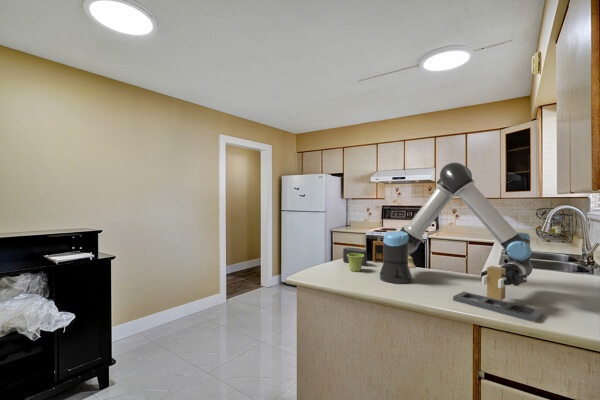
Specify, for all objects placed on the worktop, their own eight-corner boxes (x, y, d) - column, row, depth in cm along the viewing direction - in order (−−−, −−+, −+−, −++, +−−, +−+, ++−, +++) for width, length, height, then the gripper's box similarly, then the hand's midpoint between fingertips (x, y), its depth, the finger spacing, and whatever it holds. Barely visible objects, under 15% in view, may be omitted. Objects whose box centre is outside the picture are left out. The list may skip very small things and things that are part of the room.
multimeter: (389, 259, 191) (389, 229, 191) (390, 263, 181) (391, 231, 181) (366, 258, 194) (366, 228, 194) (366, 261, 184) (367, 230, 184)
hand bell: (409, 264, 178) (409, 238, 178) (418, 267, 171) (419, 240, 171) (398, 265, 176) (398, 238, 176) (407, 268, 168) (407, 240, 168)
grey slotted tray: (453, 300, 115) (453, 296, 115) (463, 295, 121) (463, 291, 121) (535, 322, 94) (535, 317, 94) (543, 315, 101) (543, 310, 101)
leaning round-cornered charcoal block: (369, 265, 174) (369, 249, 174) (365, 266, 171) (365, 250, 171) (346, 261, 185) (346, 246, 185) (342, 262, 182) (342, 247, 182)
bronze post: (487, 297, 108) (487, 267, 108) (491, 294, 111) (491, 265, 111) (501, 300, 104) (501, 269, 104) (505, 297, 107) (505, 268, 107)
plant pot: (367, 270, 161) (367, 255, 161) (357, 273, 155) (357, 257, 155) (353, 267, 168) (353, 252, 168) (343, 270, 162) (343, 254, 162)
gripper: (538, 286, 112) (520, 299, 97) (487, 277, 126) (464, 287, 111) (538, 267, 112) (520, 277, 97) (487, 259, 126) (464, 267, 111)
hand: (491, 282), depth 104 cm, fingers closed on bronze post, 4 cm apart
